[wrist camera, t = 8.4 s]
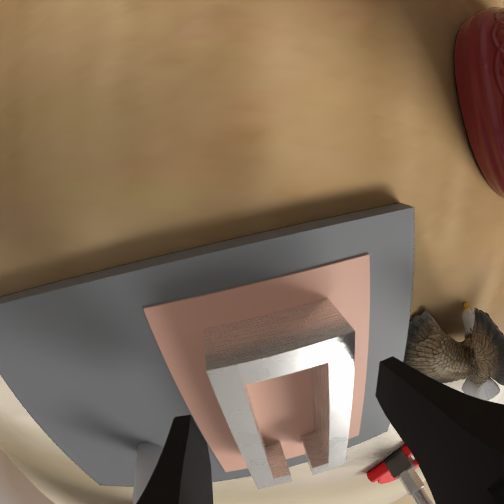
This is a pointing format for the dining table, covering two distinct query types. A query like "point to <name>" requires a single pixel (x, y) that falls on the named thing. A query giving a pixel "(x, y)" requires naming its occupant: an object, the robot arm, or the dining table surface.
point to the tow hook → (401, 474)
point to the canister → (483, 90)
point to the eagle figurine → (458, 352)
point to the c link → (278, 364)
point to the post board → (193, 345)
